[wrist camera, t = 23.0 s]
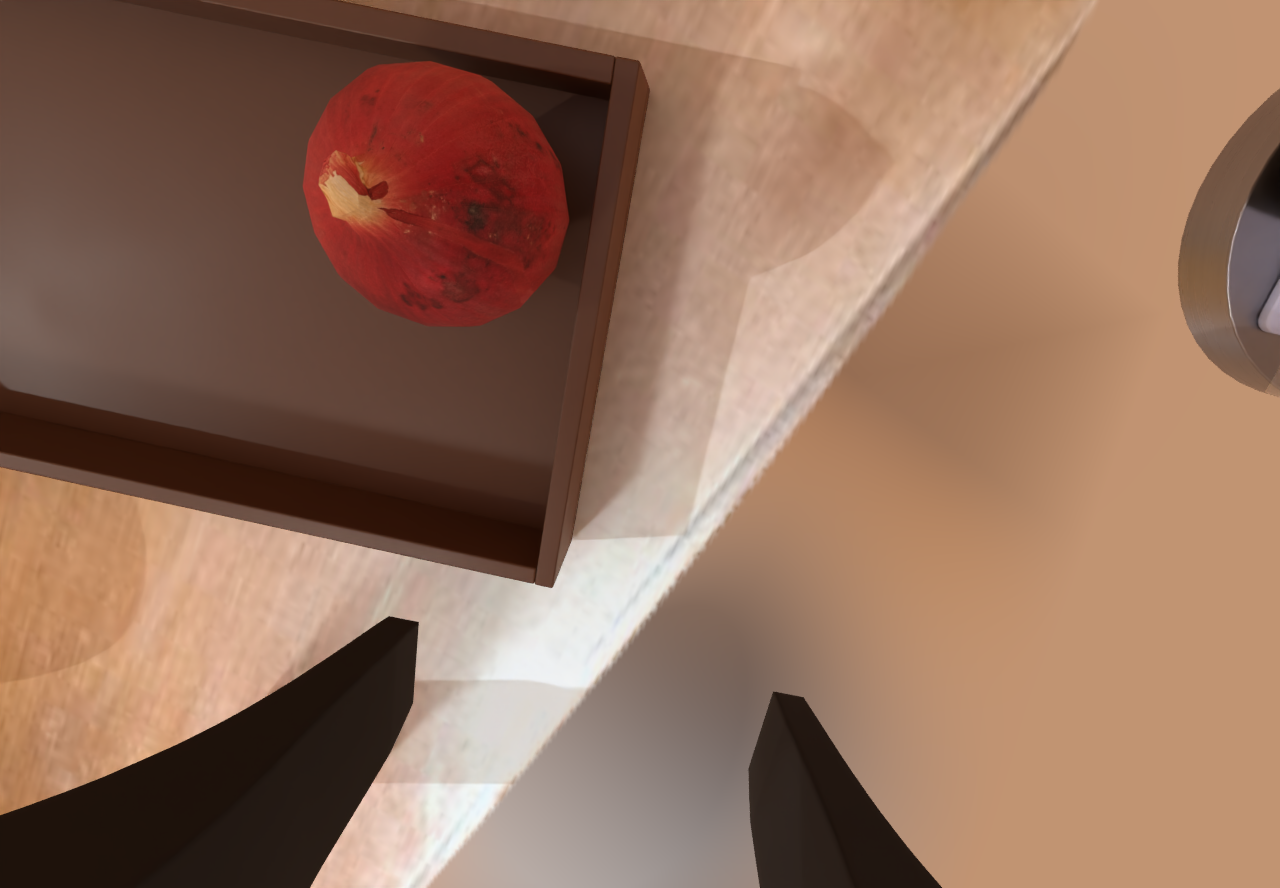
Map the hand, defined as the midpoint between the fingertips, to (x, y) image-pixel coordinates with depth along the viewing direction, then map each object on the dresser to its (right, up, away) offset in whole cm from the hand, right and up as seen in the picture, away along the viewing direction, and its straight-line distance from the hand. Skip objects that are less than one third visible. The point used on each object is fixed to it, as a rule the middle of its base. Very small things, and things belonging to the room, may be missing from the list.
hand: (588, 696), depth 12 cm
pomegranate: (-3, +12, +6) cm, 14 cm away
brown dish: (-15, +11, +8) cm, 20 cm away
